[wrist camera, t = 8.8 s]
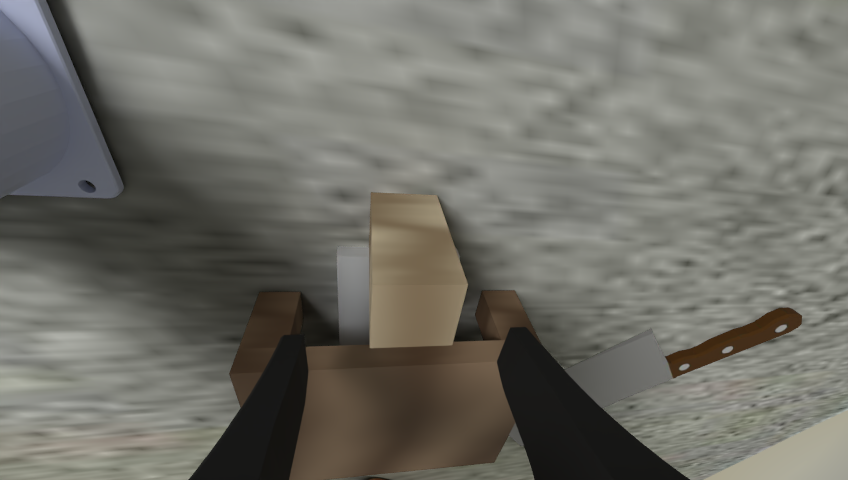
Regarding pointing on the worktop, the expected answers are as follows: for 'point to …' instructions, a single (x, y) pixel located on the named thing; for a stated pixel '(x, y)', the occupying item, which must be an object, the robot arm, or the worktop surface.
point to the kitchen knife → (665, 359)
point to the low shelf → (389, 394)
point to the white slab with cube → (401, 277)
